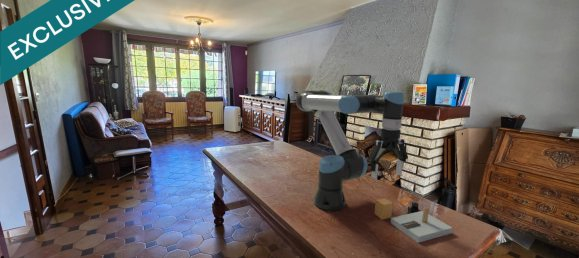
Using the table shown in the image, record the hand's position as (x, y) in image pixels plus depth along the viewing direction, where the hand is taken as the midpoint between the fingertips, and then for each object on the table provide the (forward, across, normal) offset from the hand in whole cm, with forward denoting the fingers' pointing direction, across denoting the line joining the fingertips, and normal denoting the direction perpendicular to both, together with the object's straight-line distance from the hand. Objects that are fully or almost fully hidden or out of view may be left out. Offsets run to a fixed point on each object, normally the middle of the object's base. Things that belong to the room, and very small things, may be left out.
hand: (386, 176), depth 108 cm
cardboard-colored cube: (+19, 0, 0) cm, 19 cm away
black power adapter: (+19, +16, -2) cm, 25 cm away
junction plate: (+19, +8, -13) cm, 24 cm away
